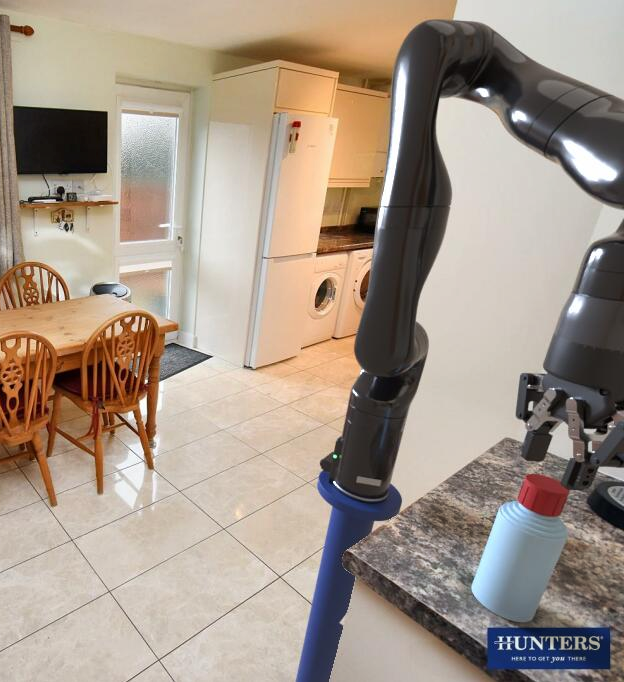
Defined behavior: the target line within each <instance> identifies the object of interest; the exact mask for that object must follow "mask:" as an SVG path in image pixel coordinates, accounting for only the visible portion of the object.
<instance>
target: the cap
mask: <svg viewBox="0 0 624 682" xmlns="http://www.w3.org/2000/svg"><path fill="white" fill-rule="evenodd" d="M523 479H524V480H523V482H522V484H521V487H520V489H519V492H518V495H517V498H516V500H518V502H519V503H520V504H521V505H522V506H524V507H525V508H527V509H528V510H530V511H532V512H535V513H537V514H540V515H543V516H548V517H558V516H559V517H560V516H561V515H562V511H563V510H564V507H565V505H566V502H567V500H568V497H569V495H570V492H571V490H568V489H566V488H565V487H563V486H562V485H561V484H560V483H561V481H559V480H557V479H555V478H553V477H550V476H547V475H543V474H538V473H528V474H526V475H525V476H524V478H523Z"/></svg>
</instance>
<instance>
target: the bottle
mask: <svg viewBox="0 0 624 682" xmlns="http://www.w3.org/2000/svg"><path fill="white" fill-rule="evenodd" d="M568 538H569V532H568V528H567V525H566V524H565V523H564V521H563V520H562V519H561V518H560V515H559V516H558V517H548V516H543V515H540V514H537V513H535V512H532V511H530V510H528V509H527V508H525V507H524V506H522V505H521V504H520V503H519V502H518V499H516V500H512V501H507V502H505V503H503V504H502V505H501V506H500V507H499V508H498V511H497V513H496V517H495V519H494V522H493V525H492V528H491V530H490V533H489V536H488V538H487V542H486V544H485V547H484V549H483V552H482V556H481V558H480V561H479V564H478V566H477V570H476V572H475V575H474V578H473V581H472V583H471V592H472V594H473V596H474V597H475V599H476V600H477V601H478V602H479V603H480V604H481V605H482V606H483V607H484V608H486V609H487V610H489V611H490V612H491V613H493V614H495V615H497V616H499V617H500V618H503V619H505V620H509V621H511V622H516V623H528V622H530V621H533V619H534V617H535V615H536V612H537V611H538V608H539V605H540V603H541V601H542V599H543V596H544V594H545V592H546V589H547V587H548V584H549V582H550V580H551V578H552V575H553V573H554V571H555V567H556V565H557V564H558V561H559V559H560V557H561V554H562V552H563V550H564V548H565V545H566V543H567V540H568Z"/></svg>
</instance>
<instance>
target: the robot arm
mask: <svg viewBox="0 0 624 682" xmlns="http://www.w3.org/2000/svg"><path fill="white" fill-rule="evenodd" d="M390 84H391V85H390V101H389V102H390V104H389V121H388V122H389V125H388V141H387V150H386V157H385V165H384V174H383V181H382V188H381V194H380V198H379V204H378V208H377V215H376V221H375V229H374V239H373V248H372V254H371V258H370V259H371V261H370V267H369V268H370V269H369V278H368V287H367V293H366V297H365V301H364V306H363V309H362V312H361V317H360V320H359V322H358V323H359V324H358V326H357V330H356V334H355V338H354V343H353V353H354V357H355V360H356V362H357V364H358V365H359V367H360V368H361V369H360V372H359V374H358V376H357V377H356V379H355V381H354V383H353V384H352V385H351V388H350V391H349V397H348V401H347V406H346V412H345V416H344V421H343V425H342V429H341V435H340V436H339V437H337V438H336V439H335V443H334V449H333V451H331V452H330V453H329V454H327V455H326V456H325V457H323V458H321V459H320V461H319V466H320V469H321V470H324V472H326V471H327V472H329V478H328V483H330V484H332V485H333V486H334V487H335V488H336V489H337V490H338V491H339V492H340V493H342V494H343V495H345V496H347V497H349V498H351V499H353V500H356V501H359V502H364V503H372V504H374V503H381V502H384V501H385V500H386V499H387V497H388V493H389V488H390V483H391V482H392V478H393V474H394V472H395V471H394V470H395V467H396V463H397V458H398V456H399V455H398V454H399V451H400V446H401V443H402V439H403V435H404V431H405V426H406V423H407V420H408V415H409V412H410V408H411V405H412V403H413V401H414V399H415V397H416V395H417V393H418V389H419V386H420V383H421V379H422V376H423V373H424V369H425V366H426V362H427V359H428V354H429V347H430V340H429V335H428V333H427V331H426V329H425V328H424V327H423V325H422V324H421V323H420V322H419V321H417V315H418V307H419V302H420V299H421V294H422V292H423V289H424V286H425V284H426V282H427V280H428V277H429V275H430V273H431V271H432V269H433V266H434V264H435V262H436V260H437V257H438V255H439V253H440V250H441V248H442V245H443V242H444V240H445V235H446V232H447V228H448V227H447V226H448V222H449V218H450V212H451V206H452V202H453V187H452V182H451V177H450V174H449V170H448V168H447V165H446V161H445V160H444V156H443V154H442V151H441V148H440V145H439V141H438V136H437V135H438V134H437V119H438V111H439V104H440V100H441V99H442V100H443V99H451V98H456V99H461V100H465V101H469V102H471V103H472V102H473V103H476V104H478V105H481V106H484V107H485V108H487V109H489V110H491V111H492V112H493V113H494V114H496V116H497V117H498V119H499V121H500V123H501V124H502V126H503V127H504V129H505V131H506V132H507V133H508V134H509V135H510V136H511V137H512V138H513V139H515V140H516V141H517V142H518V143H520V144H521V145H523V146H524V147H526V148H528V149H529V150H531V151H532V152H534V153H536V154H538V155H540V156H541V157H543V158H545V159H546V160H548V161H549V162H552V163H553V164H555V165H558V166H559V167H560V168H561V169H562V171H563V172H564V173H565V174H566V176H568V178H569V179H570V180H571V181H572V182H573V183H574V184H575V185H576V186H577V187H578V188H579V190H581V191H583V192H584V193H585V194H586V195H587V196H589V197H590V198H592V199H593V200H595V201H596V202H598V203H601V204H602V205H605V206H607V207H609V208H611V209H615V210H620V211H624V99H623V98H620V97H618V96H616V95H614V94H612V93H609V92H607V91H605V90H602V89H600V88H597V87H596V86H592V85H591V84H588V83H586V82H583V81H581V80H578V79H576V78H573V77H571V76H569V75H566V74H563V73H561V72H559V71H556V70H554V69H551V68H549V67H547V66H546V65H544V64H541V63H539V62H538V61H537V60H534V59H532V57H530V56H528V55H526V54H525V53H524V52H522V50H520V49H518V48H517V47H516V46H514V45H513V44H512V43H511V42H510V41H509V40H508V39H506V38H505V37H504V36H503V35H502V34H500V33H499V32H497V30H495V29H493V28H492V27H491V26H489V25H487V24H485V23H483V22H480V21H473V20H472V21H471V20H457V19H448V18H447V19H445V18H444V19H443V18H433V19H427V20H424V21H421V22H420V23H418V24H416V25H415V26H414V27H413V28H412V29H411V30H410V31H409V32H408V33H407V35H406V36H405V37H404V39H403V40H402V42H401V44H400V46H399V48H398V52H397V53H396V57H395V60H394V64H393V69H392V75H391V83H390ZM572 285H573V286H572V289H571V291H570V293H569V296H568V297H567V299H566V301H565V303H564V304H563V307H562V308H561V310H560V313H559V316H558V319H557V321H556V325H555V327H554V330H553V333H552V336H551V339H550V342H549V345H548V348H547V350H546V353H545V357H544V359H543V362H542V368H543V370H544V371H545V372H546V373H542V372H541V373H540V372H539V373H536V372H522V373H521V374H520V375H519V381H518V390H517V399H516V406H515V417H516V419H517V420H521V421H523V422H524V426H525V427H524V428H525V429H526V433H525V437H524V440H523V443H522V446H521V454H520V456H521V457H520V458H522V459H524V460H525V461H527V462H540V463H541V462H543V461H544V460H545V458H546V456H547V453H548V451H549V447H550V445H551V442H552V440H553V437H554V435H553V434H551V433H553V432H554V431H555V430H556V429H557V428H558V427H560V425H561V424H563V423H564V424H566V425H567V435H568V438H569V439H570V440H572V457H570V458H569V459H568V463H567V464H566V467H565V469H564V472H563V475H562V478H561V480H560V482H561V483H560V484H561V485H562V486H563V487H565V488H566V489H568V490H570V491H582V492H583V491H584V490H589V489H590V488H591V487H592V485H593V483H594V480H595V478H596V475H597V473H598V470H599V469H600V468H617V469H624V217H623V218H622V220H621V222H620V223H619V225H618V227H617V228H616V230H615V231H614V232H613V233H611V234H609V235H607V236H604V237H601V238H598V239H597V240H595V241H593V242H591V244H589V246H588V247H587V248H586V250H585V252H584V254H583V257H582V259H581V262H580V265H579V268H578V271H577V273H576V277H575V279H574V282H573V284H572ZM530 402H532V410H531V409H530V410H529V405H530ZM585 430H595V431H594V432H586V431H585ZM590 442H591V450H589V443H590Z"/></svg>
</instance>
